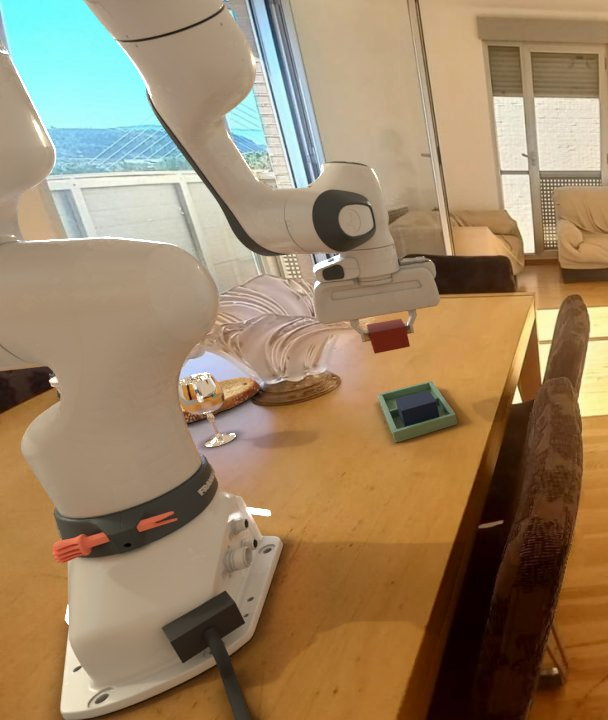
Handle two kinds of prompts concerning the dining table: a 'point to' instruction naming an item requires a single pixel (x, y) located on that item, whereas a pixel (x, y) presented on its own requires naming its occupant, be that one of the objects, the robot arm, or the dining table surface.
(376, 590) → the dining table surface
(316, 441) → the dining table surface
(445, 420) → the tray
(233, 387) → the slice of bread
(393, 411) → the tray rib
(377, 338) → the red block
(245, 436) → the dining table surface
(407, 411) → the pad
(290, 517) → the dining table surface
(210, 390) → the wineglass
